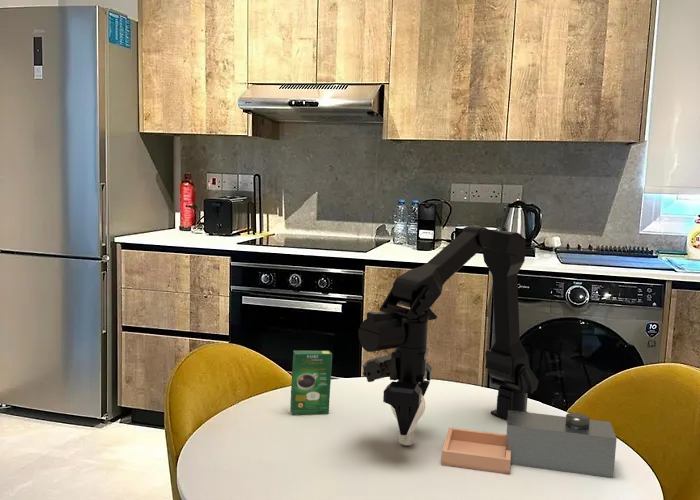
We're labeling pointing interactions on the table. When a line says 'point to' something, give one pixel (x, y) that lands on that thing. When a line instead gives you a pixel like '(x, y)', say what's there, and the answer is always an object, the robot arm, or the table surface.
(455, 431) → the dish
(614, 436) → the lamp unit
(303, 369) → the coffee box
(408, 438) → the lightbulb
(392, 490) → the table surface
